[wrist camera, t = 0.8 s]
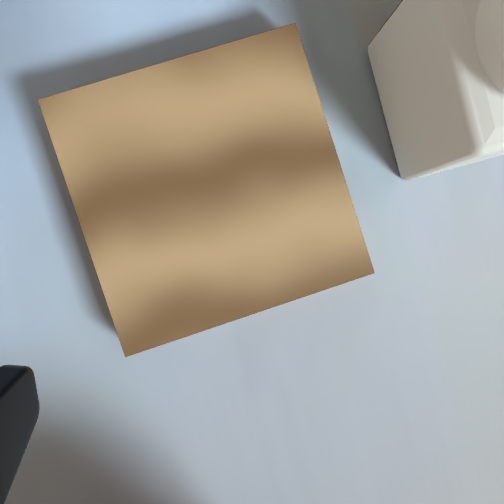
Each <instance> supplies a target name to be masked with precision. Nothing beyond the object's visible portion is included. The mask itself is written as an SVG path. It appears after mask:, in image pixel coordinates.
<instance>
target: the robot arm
mask: <svg viewBox="0 0 504 504" xmlns="http://www.w3.org/2000/svg"><path fill="white" fill-rule="evenodd" d="M38 415H39V400H38V394H37V389H36V383H35V377H34V373H33V371H32V369H31V368H30V367H27V366H18V365H4V366H1V367H0V504H4V502H5V500H6V497H7V495H8V492H9V490H10V487H11V485H12V482H13V479H14V477H15V474H16V472H17V469H18V467H19V464H20V462H21V459H22V457H23V454H24V452H25V449H26V447H27V444H28V442H29V439H30V437H31V434H32V432H33V429H34V427H35V424H36V421H37V419H38Z"/></svg>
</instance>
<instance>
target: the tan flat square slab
mask: <svg viewBox="0 0 504 504" xmlns="http://www.w3.org/2000/svg"><path fill="white" fill-rule="evenodd" d="M38 102H39V105H40V108H41V111H42V114H43V116H44V119H45V122H46V125H47V128H48V131H49V134H50V137H51V140H52V143H53V146H54V149H55V152H56V155H57V158H58V161H59V164H60V166H61V169H62V172H63V175H64V178H65V181H66V184H67V187H68V190H69V193H70V196H71V199H72V202H73V205H74V208H75V211H76V214H77V216H78V219H79V222H80V225H81V228H82V231H83V234H84V237H85V240H86V243H87V246H88V249H89V252H90V255H91V258H92V261H93V264H94V266H95V269H96V272H97V275H98V278H99V281H100V284H101V287H102V290H103V293H104V296H105V299H106V302H107V305H108V308H109V311H110V314H111V316H112V319H113V322H114V325H115V328H116V331H117V334H118V337H119V340H120V343H121V346H122V349H123V352H124V355H125V357H127V356H130V355H133V354H136V353H139V352H142V351H145V350H148V349H151V348H154V347H157V346H160V345H163V344H166V343H169V342H172V341H175V340H178V339H181V338H184V337H186V336H189V335H192V334H195V333H198V332H201V331H204V330H207V329H210V328H213V327H216V326H219V325H222V324H225V323H228V322H231V321H234V320H237V319H240V318H243V317H246V316H249V315H252V314H255V313H257V312H260V311H263V310H266V309H269V308H272V307H275V306H278V305H281V304H284V303H287V302H290V301H293V300H296V299H299V298H302V297H305V296H308V295H311V294H314V293H317V292H320V291H323V290H326V289H328V288H331V287H334V286H337V285H340V284H343V283H346V282H349V281H352V280H355V279H358V278H361V277H364V276H367V275H370V274H373V273H374V269H373V266H372V263H371V260H370V257H369V254H368V250H367V247H366V244H365V241H364V238H363V235H362V232H361V228H360V225H359V222H358V219H357V216H356V213H355V209H354V206H353V203H352V200H351V197H350V194H349V190H348V187H347V184H346V181H345V178H344V175H343V172H342V168H341V165H340V162H339V159H338V156H337V153H336V149H335V146H334V143H333V140H332V137H331V134H330V131H329V127H328V124H327V121H326V118H325V115H324V112H323V108H322V105H321V102H320V99H319V96H318V93H317V89H316V86H315V83H314V80H313V77H312V74H311V71H310V67H309V64H308V61H307V58H306V55H305V52H304V48H303V45H302V42H301V39H300V36H299V33H298V30H297V26H296V23H293V24H290V25H287V26H283V27H280V28H277V29H273V30H270V31H267V32H263V33H260V34H256V35H253V36H250V37H246V38H243V39H240V40H236V41H233V42H230V43H226V44H223V45H220V46H216V47H213V48H209V49H206V50H203V51H199V52H196V53H193V54H189V55H186V56H183V57H179V58H176V59H173V60H169V61H166V62H162V63H159V64H156V65H152V66H149V67H146V68H142V69H139V70H136V71H132V72H129V73H126V74H122V75H119V76H116V77H112V78H109V79H105V80H102V81H99V82H95V83H92V84H89V85H85V86H82V87H79V88H75V89H72V90H69V91H65V92H62V93H58V94H55V95H52V96H48V97H45V98H42V99H38Z"/></svg>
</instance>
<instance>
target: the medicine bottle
mask: <svg viewBox="0 0 504 504" xmlns="http://www.w3.org/2000/svg"><path fill="white" fill-rule="evenodd" d="M368 55H369V59H370V63H371V67H372V70H373V74H374V78H375V82H376V86H377V89H378V93H379V97H380V101H381V104H382V108H383V112H384V116H385V120H386V123H387V127H388V131H389V135H390V138H391V142H392V146H393V150H394V154H395V157H396V161H397V165H398V169H399V172H400V176H401V178H402V179H404V180H406V181H410V180H413V179H417V178H421V177H424V176H428V175H432V174H435V173H439V172H442V171H446V170H450V169H453V168H457V167H461V166H464V165H468V164H471V163H475V162H479V161H482V160H486V159H490V158H493V157H497V156H500V155H504V0H402V1H401V3H400V4H399V5H398V7H397V8H396V9H395V10H394V12H393V13H392V14H391V16H390V17H389V18H388V20H387V21H386V22H385V24H384V25H383V26H382V28H381V29H380V30H379V32H378V33H377V34H376V36H375V37H374V38H373V40H372V41H371V42H370V44H369V46H368Z"/></svg>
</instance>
